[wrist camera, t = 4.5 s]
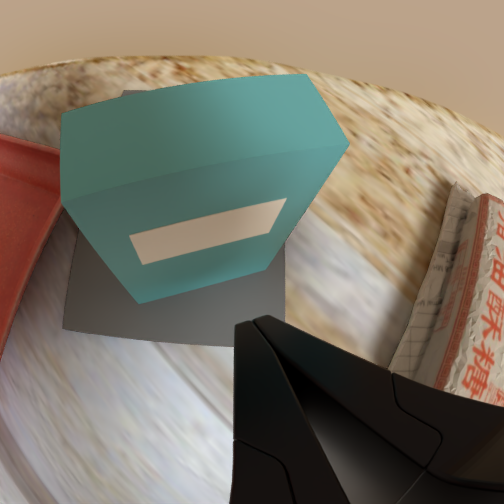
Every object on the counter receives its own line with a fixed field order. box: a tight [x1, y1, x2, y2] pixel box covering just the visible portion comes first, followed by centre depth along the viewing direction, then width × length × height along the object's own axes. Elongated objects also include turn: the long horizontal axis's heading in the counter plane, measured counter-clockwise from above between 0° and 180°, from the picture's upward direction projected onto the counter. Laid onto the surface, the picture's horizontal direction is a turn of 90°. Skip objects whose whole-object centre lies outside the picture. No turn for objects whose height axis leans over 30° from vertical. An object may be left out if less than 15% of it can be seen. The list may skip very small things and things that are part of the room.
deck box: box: [60, 74, 350, 304], centre depth 11 cm, size 3×6×10 cm, turn 109°
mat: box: [62, 90, 285, 347], centre depth 17 cm, size 16×11×1 cm
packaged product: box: [388, 181, 504, 407], centre depth 16 cm, size 18×5×10 cm
